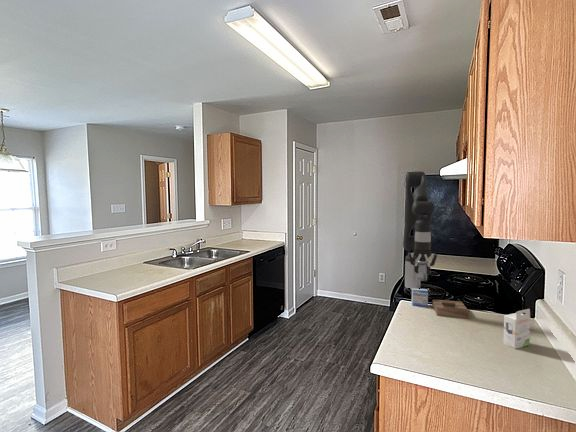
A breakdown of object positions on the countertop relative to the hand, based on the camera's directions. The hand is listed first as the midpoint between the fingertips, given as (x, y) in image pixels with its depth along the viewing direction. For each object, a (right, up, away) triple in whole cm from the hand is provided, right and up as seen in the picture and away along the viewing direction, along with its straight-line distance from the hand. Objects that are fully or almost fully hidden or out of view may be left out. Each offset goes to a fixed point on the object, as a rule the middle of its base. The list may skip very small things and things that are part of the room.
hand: (422, 273), depth 164 cm
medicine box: (+2, -19, +9) cm, 21 cm away
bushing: (0, -3, 0) cm, 3 cm away
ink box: (+21, -22, -38) cm, 49 cm away
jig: (+13, -19, -2) cm, 23 cm away
